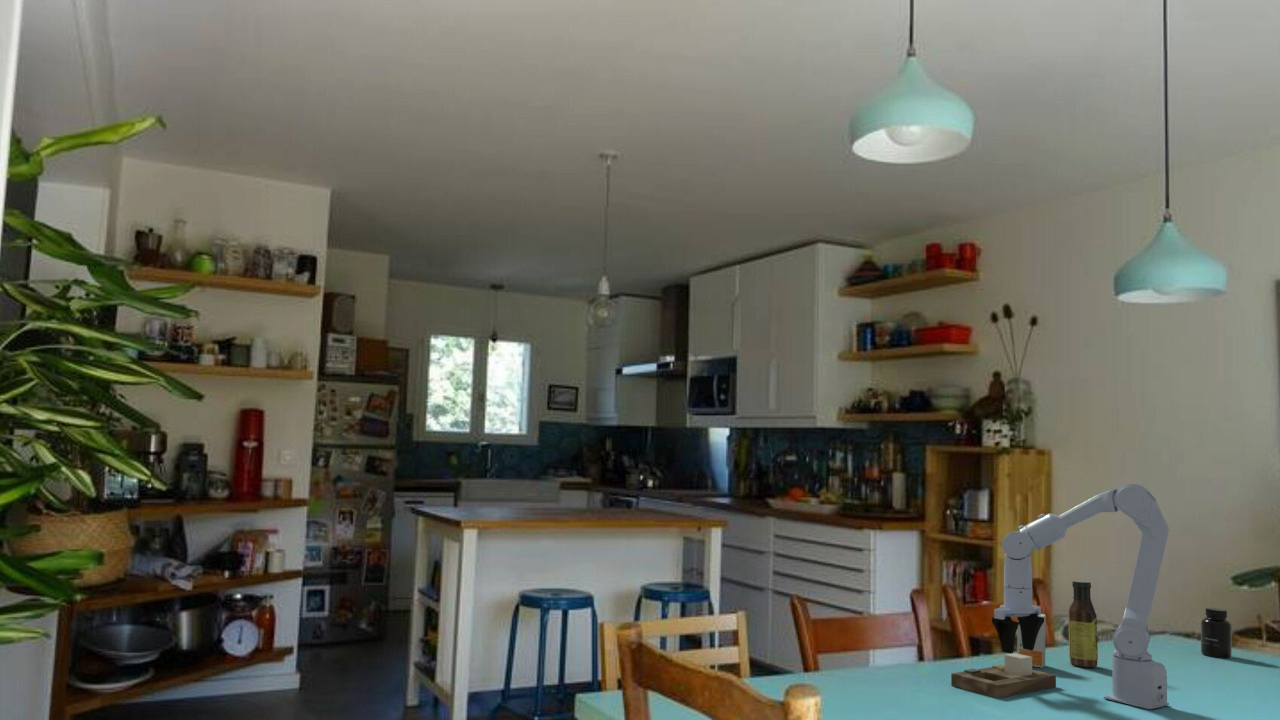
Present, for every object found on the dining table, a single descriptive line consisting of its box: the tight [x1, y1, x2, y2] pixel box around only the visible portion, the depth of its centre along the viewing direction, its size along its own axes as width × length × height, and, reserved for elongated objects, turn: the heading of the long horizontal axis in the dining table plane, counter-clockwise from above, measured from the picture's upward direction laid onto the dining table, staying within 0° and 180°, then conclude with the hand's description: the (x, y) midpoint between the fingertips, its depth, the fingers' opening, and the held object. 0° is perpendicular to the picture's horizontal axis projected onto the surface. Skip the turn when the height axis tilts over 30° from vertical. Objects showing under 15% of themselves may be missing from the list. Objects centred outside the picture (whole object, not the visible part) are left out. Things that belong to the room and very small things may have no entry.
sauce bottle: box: [1068, 580, 1099, 669], centre depth 224 cm, size 7×6×20 cm
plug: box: [1004, 652, 1033, 676], centre depth 201 cm, size 4×4×6 cm
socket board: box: [950, 666, 1057, 699], centre depth 198 cm, size 11×21×2 cm, turn 125°
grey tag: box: [963, 668, 981, 674], centre depth 199 cm, size 2×3×1 cm, turn 125°
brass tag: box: [991, 663, 1005, 669], centre depth 205 cm, size 2×3×1 cm, turn 125°
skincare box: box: [1016, 613, 1047, 669], centre depth 222 cm, size 6×4×12 cm
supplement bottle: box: [1200, 607, 1233, 659], centre depth 244 cm, size 7×7×12 cm
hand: (1018, 651), depth 202 cm, fingers open, 7 cm apart
